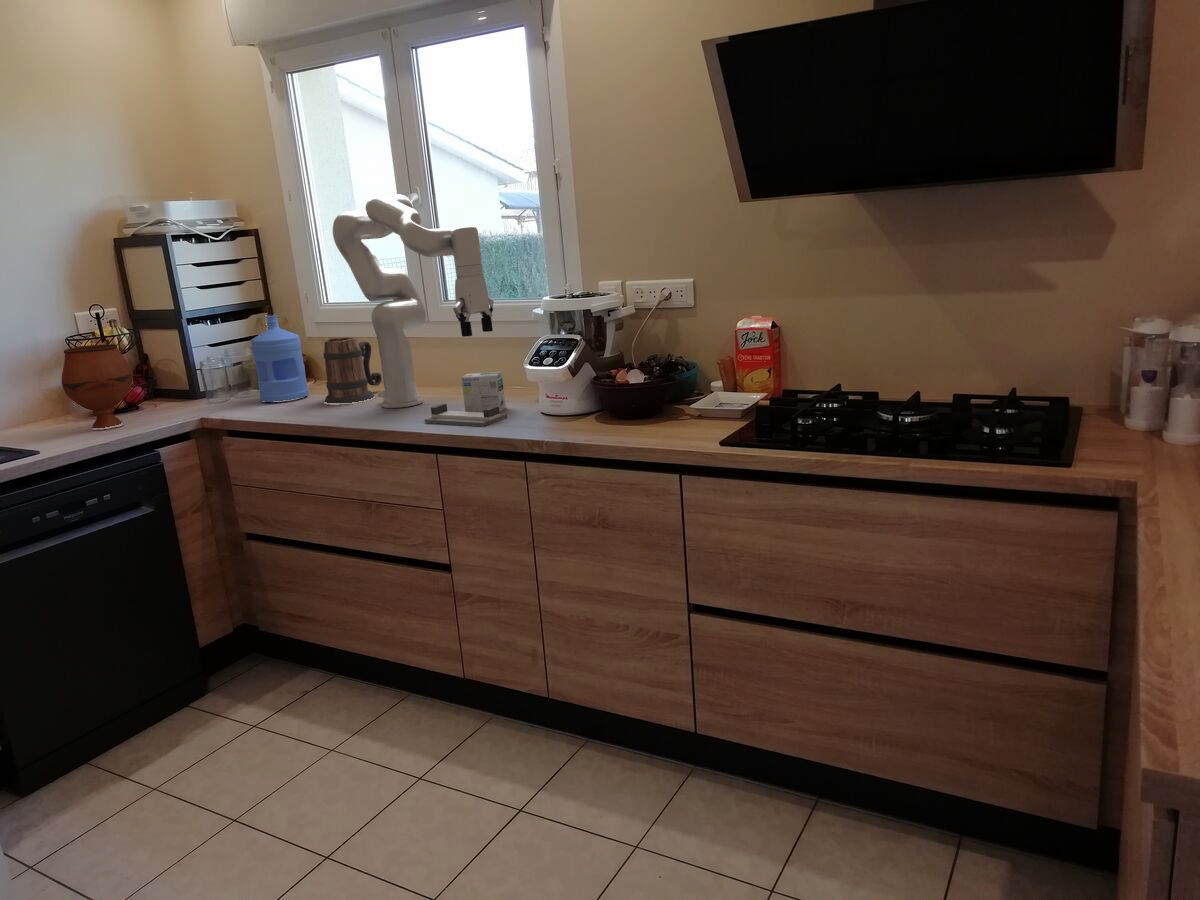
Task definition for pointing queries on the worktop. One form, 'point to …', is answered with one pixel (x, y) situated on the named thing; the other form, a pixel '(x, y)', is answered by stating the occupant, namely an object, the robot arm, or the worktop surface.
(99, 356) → the goblet
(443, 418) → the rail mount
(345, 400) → the tankard
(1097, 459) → the worktop surface
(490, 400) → the light bulb box
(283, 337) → the water jug
